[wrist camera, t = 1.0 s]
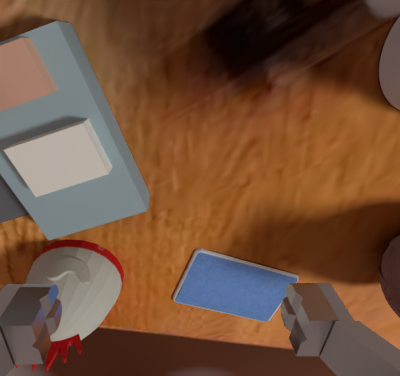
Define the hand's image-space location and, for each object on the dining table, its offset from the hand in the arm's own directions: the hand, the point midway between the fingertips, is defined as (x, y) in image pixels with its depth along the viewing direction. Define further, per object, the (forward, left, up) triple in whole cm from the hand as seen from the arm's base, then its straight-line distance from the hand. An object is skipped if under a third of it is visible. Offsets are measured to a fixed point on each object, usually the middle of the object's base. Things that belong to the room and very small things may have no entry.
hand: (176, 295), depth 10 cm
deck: (+15, -2, -28) cm, 31 cm away
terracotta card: (+15, -10, -24) cm, 29 cm away
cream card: (+14, -1, -24) cm, 27 cm away
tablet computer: (+1, +31, -29) cm, 42 cm away
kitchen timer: (+24, +19, -28) cm, 42 cm away
